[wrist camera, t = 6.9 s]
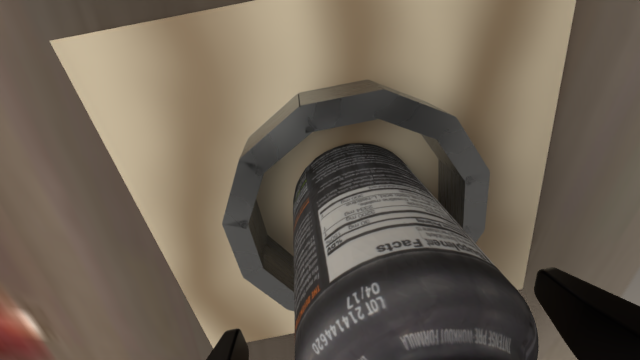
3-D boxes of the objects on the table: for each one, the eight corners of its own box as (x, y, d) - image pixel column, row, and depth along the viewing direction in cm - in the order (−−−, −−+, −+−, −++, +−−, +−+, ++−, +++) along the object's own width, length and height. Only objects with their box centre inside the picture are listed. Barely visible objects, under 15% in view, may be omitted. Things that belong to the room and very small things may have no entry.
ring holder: (570, -59, 12) (665, -91, 9) (514, 279, 20) (553, 322, 17) (64, 40, 12) (-14, 42, 9) (216, 337, 20) (202, 390, 17)
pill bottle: (364, 260, 17) (472, 609, 7) (270, 214, 15) (221, 598, 5) (436, 178, 15) (750, 494, 5) (338, 114, 13) (499, 402, 3)
